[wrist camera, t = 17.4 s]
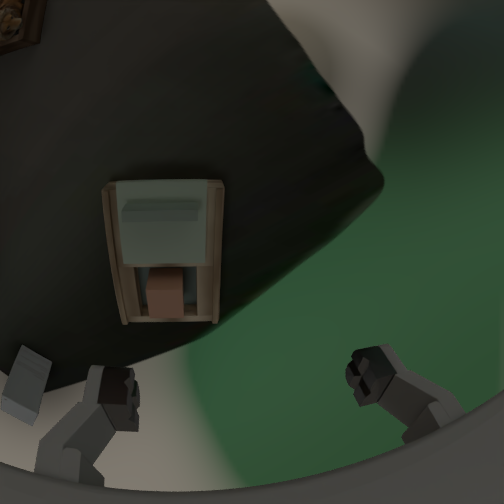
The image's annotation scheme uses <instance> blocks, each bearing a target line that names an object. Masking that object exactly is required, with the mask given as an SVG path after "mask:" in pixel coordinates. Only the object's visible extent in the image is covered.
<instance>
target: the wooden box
mask: <svg viewBox="0 0 504 504" xmlns="http://www.w3.org/2000/svg"><path fill="white" fill-rule="evenodd" d="M116 182H117V181H113V182H108V183H107V185H106V186H105V187H104V188H103V189H102V201H103V212H104V221H105V229H106V237H107V245H108V252H109V258H110V265H111V271H112V276H113V282H114V287H115V293H116V298H117V302H118V307H119V312H120V316H121V321H122V323H123V325H127V324H128V322H185V321H212V323H218V320H219V301H220V273H221V249H222V228H223V208H224V191H225V188H224V185H223V182H222V180H207V205H206V244H205V263H161V264H124V263H123V256H122V248H121V239H120V230H119V220H118V209H117V195H116ZM150 268H183V288H184V318H150V317H149V310H148V303H147V296H146V286H147V280H148V275H149V269H150Z"/></svg>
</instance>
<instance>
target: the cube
mask: <svg viewBox="0 0 504 504" xmlns="http://www.w3.org/2000/svg"><path fill="white" fill-rule="evenodd" d="M146 296H147V303H148V310H149V317H150V318H184V288H183V268H150V269H149V275H148V280H147V286H146Z"/></svg>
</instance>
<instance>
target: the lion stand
mask: <svg viewBox="0 0 504 504" xmlns="http://www.w3.org/2000/svg"><path fill="white" fill-rule="evenodd" d="M46 3H47V0H25V3H24V8H23V12H22V17H21V19H22V27H21V28H20V29H19V34H18V35H15V36H12V37H11V38H10V39H8V40H6V41H0V56H1V55H3V54H6V53H9V52H12V51H15V50H18V49H21V48H24V47H28V46H31V45H35V44H38V43H40V38H41V31H42V25H43V19H44V13H45V8H46Z"/></svg>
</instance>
